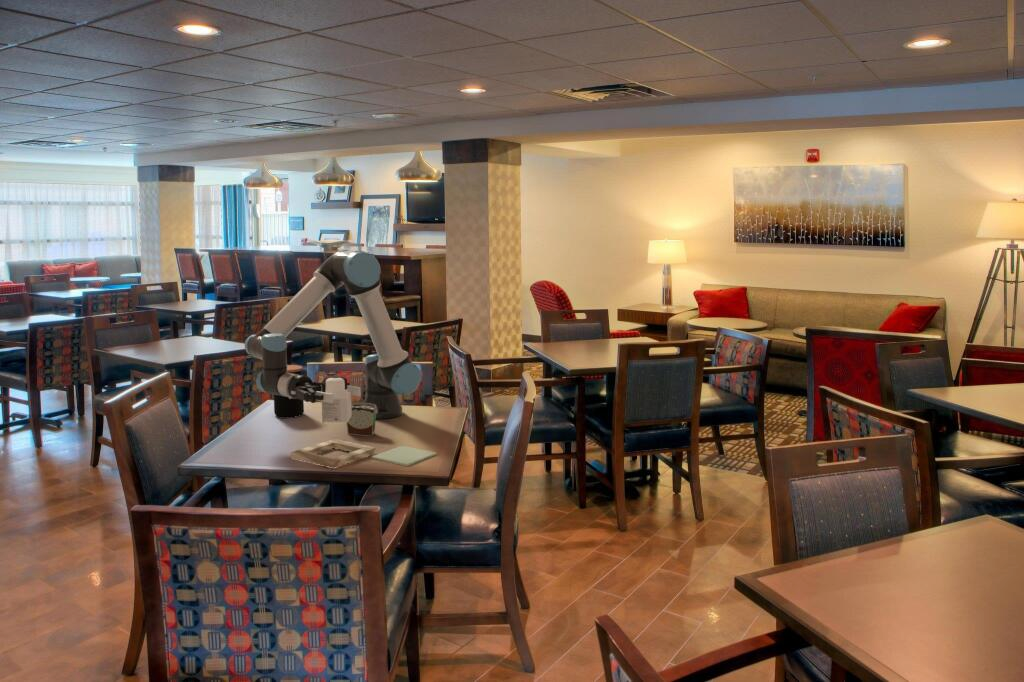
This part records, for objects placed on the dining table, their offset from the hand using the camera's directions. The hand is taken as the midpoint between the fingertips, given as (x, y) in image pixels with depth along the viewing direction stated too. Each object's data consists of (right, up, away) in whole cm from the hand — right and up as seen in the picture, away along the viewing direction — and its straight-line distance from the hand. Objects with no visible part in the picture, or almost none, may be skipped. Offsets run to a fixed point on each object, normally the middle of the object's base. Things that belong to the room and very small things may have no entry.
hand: (346, 395), depth 228 cm
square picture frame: (-5, -19, +6) cm, 21 cm away
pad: (+17, -19, +6) cm, 26 cm away
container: (-4, -8, +3) cm, 9 cm away
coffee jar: (-34, -12, +57) cm, 67 cm away
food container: (-1, -15, +32) cm, 36 cm away
